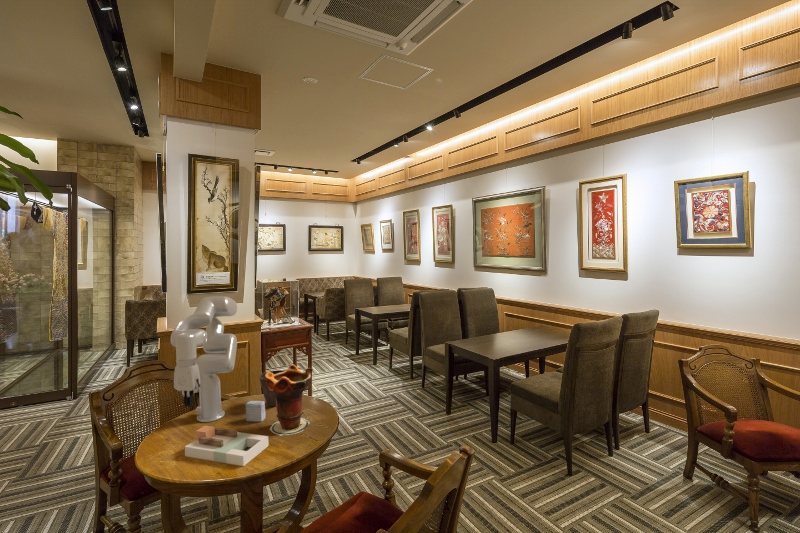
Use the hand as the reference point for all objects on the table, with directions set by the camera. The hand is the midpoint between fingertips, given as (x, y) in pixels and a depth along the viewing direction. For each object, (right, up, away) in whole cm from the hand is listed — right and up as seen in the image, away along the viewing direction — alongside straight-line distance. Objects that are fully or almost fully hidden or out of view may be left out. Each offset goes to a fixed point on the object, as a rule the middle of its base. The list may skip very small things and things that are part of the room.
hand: (188, 404), depth 167 cm
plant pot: (+23, -15, +44) cm, 51 cm away
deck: (+18, -18, -4) cm, 26 cm away
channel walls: (+14, -14, -3) cm, 20 cm away
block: (+8, -14, -1) cm, 16 cm away
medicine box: (+20, -16, +25) cm, 35 cm away
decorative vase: (+38, -16, +17) cm, 45 cm away
